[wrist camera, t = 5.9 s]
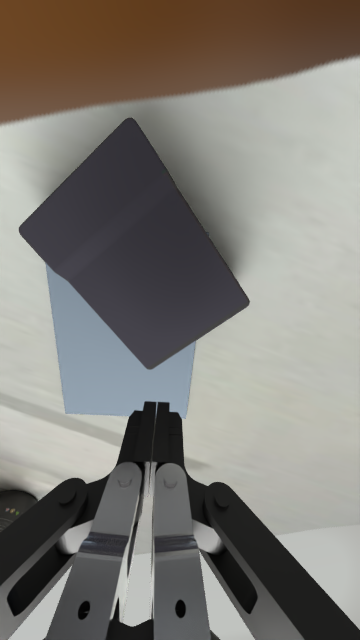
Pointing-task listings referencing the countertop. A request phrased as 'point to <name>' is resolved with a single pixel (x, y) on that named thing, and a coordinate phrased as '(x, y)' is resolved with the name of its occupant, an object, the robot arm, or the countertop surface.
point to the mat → (109, 362)
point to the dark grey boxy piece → (135, 249)
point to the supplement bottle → (14, 506)
